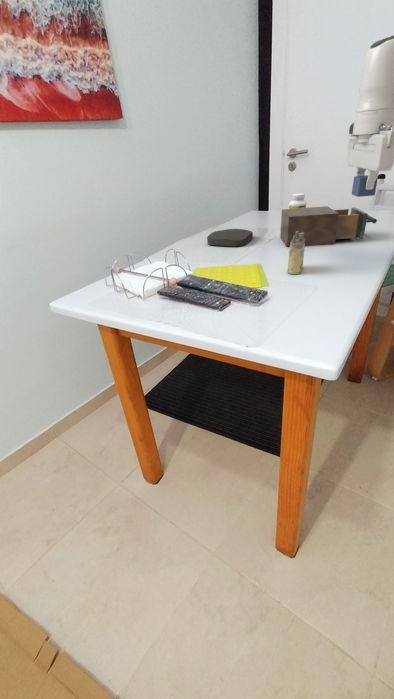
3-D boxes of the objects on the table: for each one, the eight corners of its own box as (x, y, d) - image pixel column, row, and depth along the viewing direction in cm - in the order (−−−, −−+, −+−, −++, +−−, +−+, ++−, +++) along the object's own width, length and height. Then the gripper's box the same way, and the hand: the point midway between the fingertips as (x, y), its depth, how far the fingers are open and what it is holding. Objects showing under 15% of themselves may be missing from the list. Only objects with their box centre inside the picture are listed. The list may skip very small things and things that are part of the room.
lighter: (299, 275, 90) (302, 237, 84) (285, 274, 91) (287, 236, 86) (303, 266, 95) (307, 230, 90) (289, 265, 96) (292, 229, 91)
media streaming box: (203, 245, 121) (203, 237, 119) (219, 235, 131) (219, 227, 130) (242, 247, 115) (242, 239, 113) (255, 236, 126) (255, 228, 124)
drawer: (363, 229, 119) (367, 206, 115) (376, 238, 110) (381, 212, 106) (309, 233, 121) (312, 210, 117) (318, 241, 111) (321, 217, 107)
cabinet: (323, 234, 121) (327, 206, 116) (334, 244, 111) (339, 213, 106) (280, 237, 122) (281, 209, 117) (286, 247, 112) (288, 216, 107)
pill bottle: (294, 228, 132) (296, 196, 126) (284, 225, 138) (286, 194, 131) (307, 225, 134) (310, 193, 128) (297, 222, 140) (299, 192, 133)
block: (368, 192, 91) (371, 174, 89) (374, 195, 88) (378, 176, 85) (351, 194, 92) (354, 176, 89) (357, 196, 88) (360, 178, 86)
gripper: (409, 122, 72) (395, 192, 80) (370, 124, 90) (361, 182, 97) (379, 125, 73) (367, 194, 80) (346, 127, 90) (339, 184, 97)
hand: (364, 187), depth 89 cm, fingers closed on block, 4 cm apart
